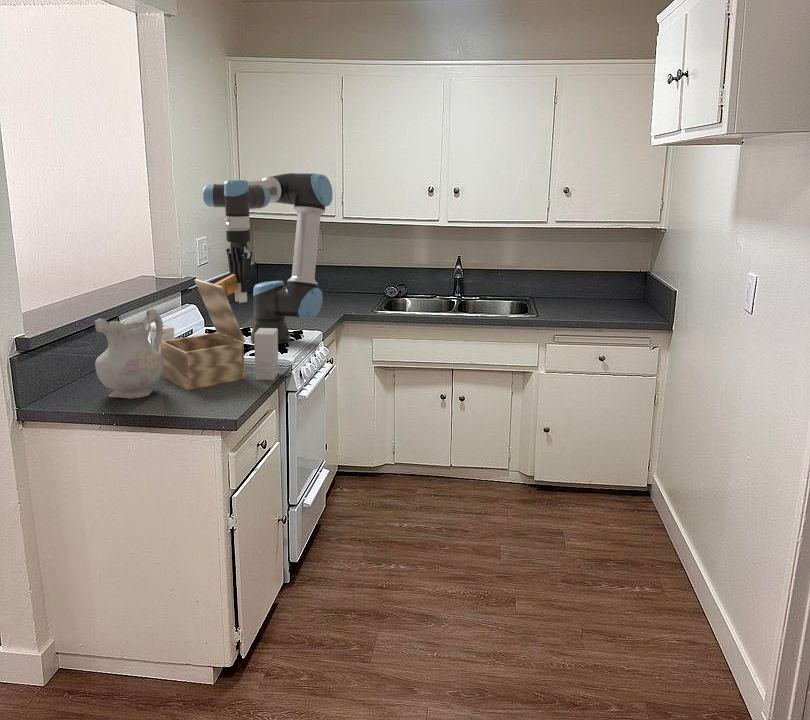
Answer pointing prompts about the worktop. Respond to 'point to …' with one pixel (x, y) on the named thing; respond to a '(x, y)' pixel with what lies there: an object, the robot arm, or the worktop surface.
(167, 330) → the syrup box
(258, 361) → the skincare box
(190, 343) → the carton
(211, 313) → the lid
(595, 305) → the worktop surface
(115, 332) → the ceramic pitcher
